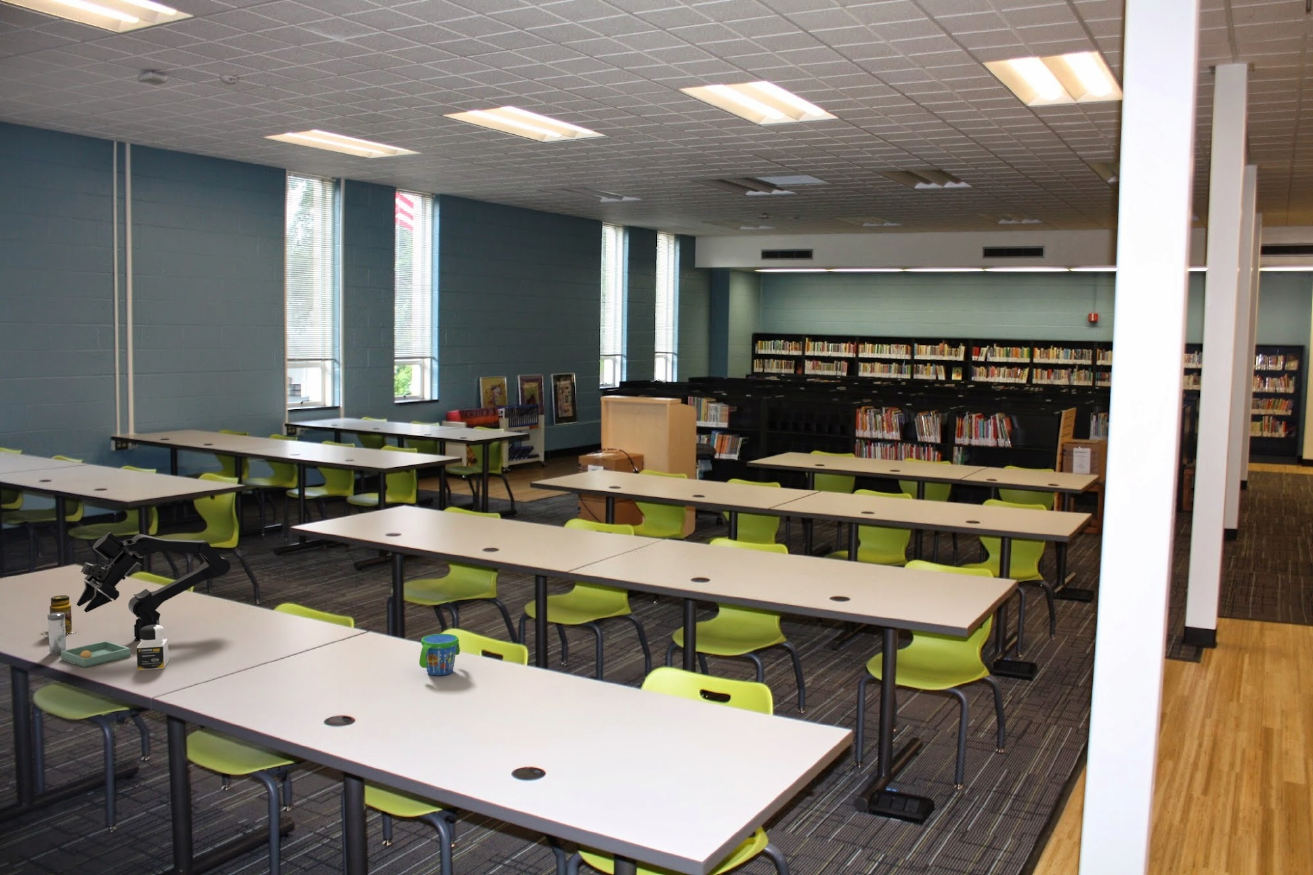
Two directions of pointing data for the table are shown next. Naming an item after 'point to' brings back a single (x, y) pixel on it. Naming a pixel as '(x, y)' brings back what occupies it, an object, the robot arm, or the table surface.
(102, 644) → the tray
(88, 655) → the ball
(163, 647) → the medicine bottle
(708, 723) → the table surface
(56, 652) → the cylinder
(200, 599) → the table surface
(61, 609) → the condiment
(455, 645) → the snack cup
